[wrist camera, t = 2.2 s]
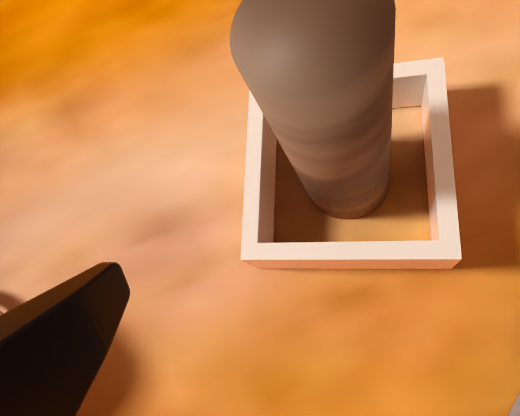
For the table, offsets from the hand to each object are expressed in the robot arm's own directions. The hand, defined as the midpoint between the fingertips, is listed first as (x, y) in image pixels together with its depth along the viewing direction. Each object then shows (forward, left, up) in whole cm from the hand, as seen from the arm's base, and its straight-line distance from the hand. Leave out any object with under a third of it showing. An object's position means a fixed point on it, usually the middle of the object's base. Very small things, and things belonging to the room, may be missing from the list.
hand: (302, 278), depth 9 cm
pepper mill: (+6, +3, -13) cm, 14 cm away
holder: (+6, +3, -13) cm, 14 cm away
